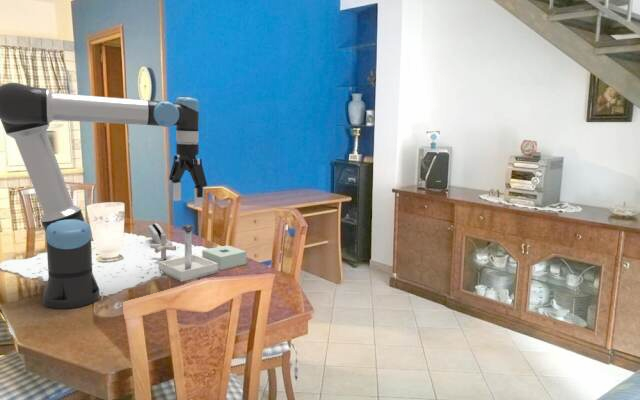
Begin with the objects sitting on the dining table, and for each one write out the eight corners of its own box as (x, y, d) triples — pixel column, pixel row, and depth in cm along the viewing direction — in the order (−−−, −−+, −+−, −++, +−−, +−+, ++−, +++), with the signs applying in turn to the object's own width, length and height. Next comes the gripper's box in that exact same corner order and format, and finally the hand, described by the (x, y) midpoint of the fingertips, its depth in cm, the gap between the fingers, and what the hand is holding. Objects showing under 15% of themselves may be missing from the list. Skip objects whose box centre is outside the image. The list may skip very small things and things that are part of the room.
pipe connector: (168, 264, 179) (168, 238, 178) (144, 261, 181) (144, 236, 180) (181, 257, 189) (181, 233, 187) (158, 254, 191) (158, 230, 189)
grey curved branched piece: (173, 247, 203) (164, 226, 199) (162, 252, 201) (154, 231, 197) (164, 238, 217) (156, 218, 213) (153, 242, 215) (145, 223, 211)
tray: (181, 281, 162) (181, 271, 161) (158, 271, 171) (158, 261, 171) (217, 272, 173) (217, 263, 172) (194, 263, 182) (194, 254, 182)
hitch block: (220, 270, 175) (220, 257, 175) (202, 262, 183) (202, 250, 182) (246, 263, 184) (246, 251, 183) (227, 257, 192) (227, 245, 191)
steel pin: (186, 271, 169) (186, 227, 166) (180, 269, 172) (180, 225, 169) (196, 269, 172) (196, 226, 169) (189, 266, 175) (190, 224, 172)
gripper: (217, 145, 159) (217, 207, 162) (177, 141, 175) (177, 197, 179) (198, 145, 153) (198, 210, 157) (159, 140, 170) (159, 199, 173)
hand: (187, 203), depth 168 cm, fingers open, 13 cm apart
